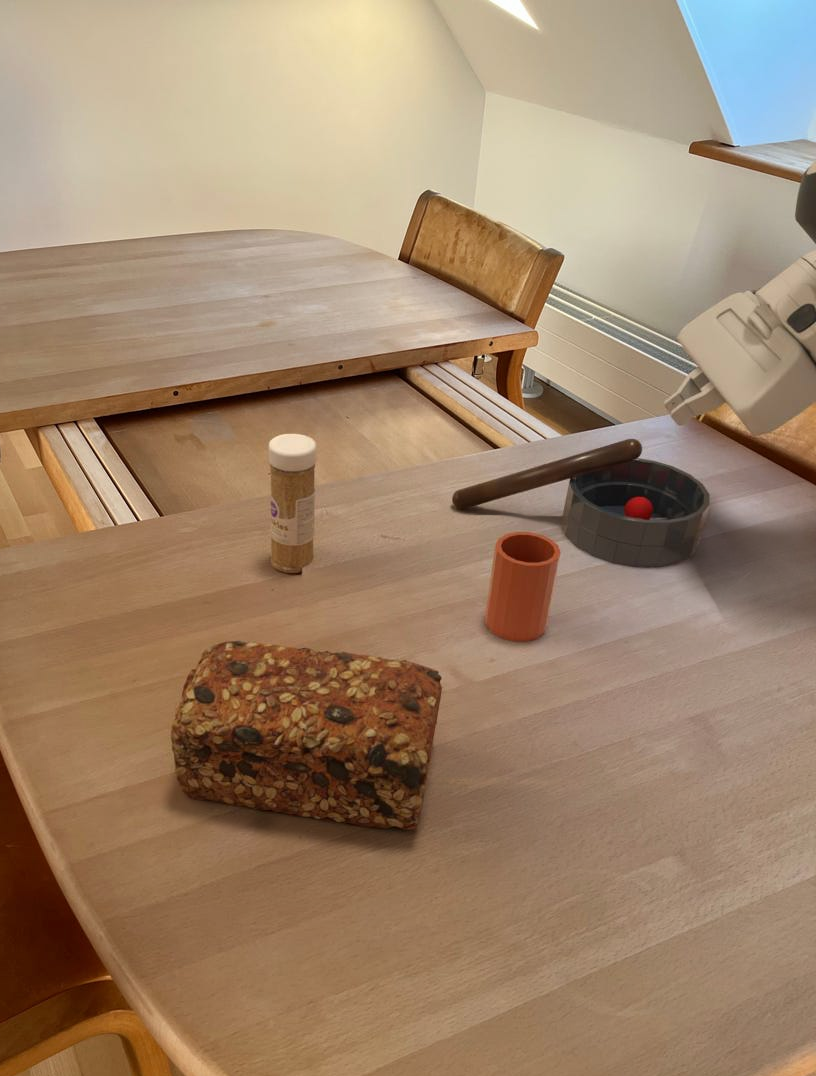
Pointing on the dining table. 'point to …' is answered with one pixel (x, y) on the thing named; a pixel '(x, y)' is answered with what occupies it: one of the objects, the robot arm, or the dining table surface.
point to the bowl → (634, 541)
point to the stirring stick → (548, 473)
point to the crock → (521, 586)
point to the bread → (308, 732)
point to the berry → (639, 508)
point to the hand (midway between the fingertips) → (670, 415)
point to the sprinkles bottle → (292, 501)
